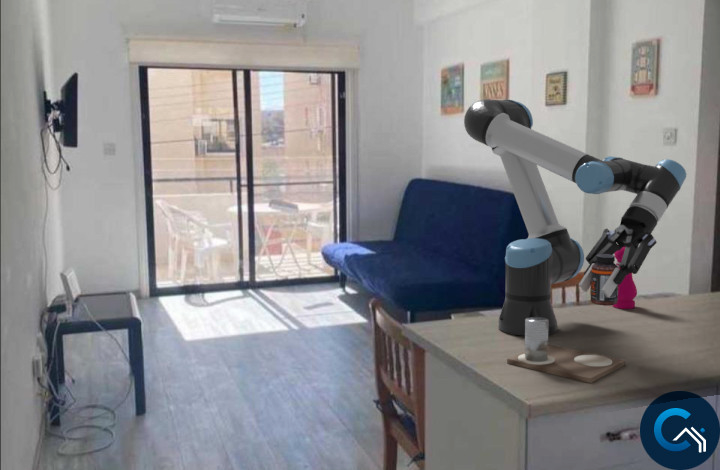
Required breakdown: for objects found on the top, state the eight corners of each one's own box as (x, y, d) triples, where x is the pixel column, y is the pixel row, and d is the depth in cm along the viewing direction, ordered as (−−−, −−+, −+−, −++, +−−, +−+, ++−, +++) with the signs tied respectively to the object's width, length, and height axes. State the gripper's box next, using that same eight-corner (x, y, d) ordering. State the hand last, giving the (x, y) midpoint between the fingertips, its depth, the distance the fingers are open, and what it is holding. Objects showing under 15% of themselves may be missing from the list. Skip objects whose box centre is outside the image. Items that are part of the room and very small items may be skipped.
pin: (520, 359, 157) (520, 320, 155) (532, 354, 160) (532, 316, 159) (540, 364, 153) (540, 324, 152) (552, 358, 157) (552, 319, 155)
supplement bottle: (587, 300, 166) (588, 253, 165) (612, 300, 166) (614, 253, 164) (594, 306, 160) (596, 257, 159) (621, 306, 160) (622, 257, 158)
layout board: (507, 362, 157) (507, 357, 157) (544, 347, 169) (544, 342, 168) (590, 383, 143) (590, 377, 143) (624, 364, 155) (625, 359, 154)
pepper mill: (638, 309, 204) (640, 241, 201) (612, 309, 205) (614, 241, 202) (634, 304, 211) (636, 238, 208) (609, 303, 212) (610, 238, 209)
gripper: (685, 229, 160) (635, 308, 154) (617, 221, 176) (569, 293, 170) (672, 207, 157) (620, 288, 151) (603, 202, 173) (554, 274, 167)
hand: (593, 290), depth 161 cm, fingers closed on supplement bottle, 6 cm apart
